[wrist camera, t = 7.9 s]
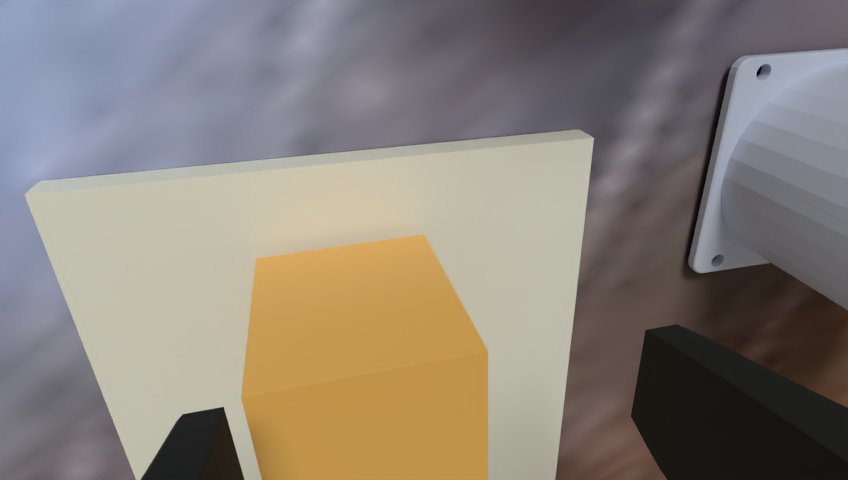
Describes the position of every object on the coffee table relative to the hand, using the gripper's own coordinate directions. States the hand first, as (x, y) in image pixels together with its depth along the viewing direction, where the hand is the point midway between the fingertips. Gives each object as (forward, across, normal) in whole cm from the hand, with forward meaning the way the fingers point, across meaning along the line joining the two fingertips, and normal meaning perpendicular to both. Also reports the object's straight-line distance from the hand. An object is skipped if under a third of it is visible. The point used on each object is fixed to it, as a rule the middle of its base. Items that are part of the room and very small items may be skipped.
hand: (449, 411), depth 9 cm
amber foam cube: (+8, +1, +3) cm, 8 cm away
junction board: (+9, +1, +7) cm, 12 cm away
